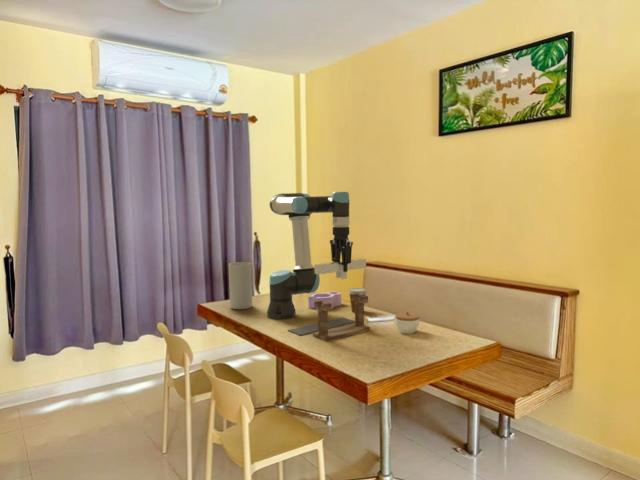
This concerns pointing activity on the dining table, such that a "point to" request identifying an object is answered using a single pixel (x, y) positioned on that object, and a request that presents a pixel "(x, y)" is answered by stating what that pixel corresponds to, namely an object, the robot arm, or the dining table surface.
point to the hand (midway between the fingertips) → (341, 278)
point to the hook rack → (345, 329)
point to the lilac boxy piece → (325, 299)
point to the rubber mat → (314, 327)
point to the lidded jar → (407, 322)
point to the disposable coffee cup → (357, 291)
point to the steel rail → (339, 266)
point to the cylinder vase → (240, 285)
